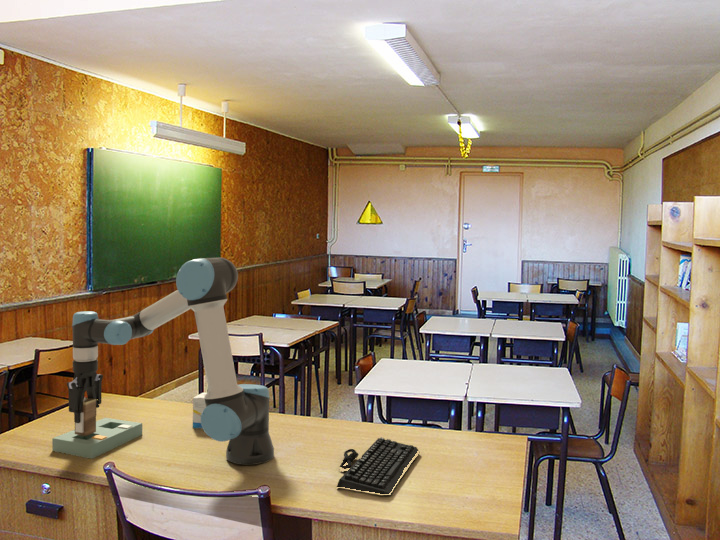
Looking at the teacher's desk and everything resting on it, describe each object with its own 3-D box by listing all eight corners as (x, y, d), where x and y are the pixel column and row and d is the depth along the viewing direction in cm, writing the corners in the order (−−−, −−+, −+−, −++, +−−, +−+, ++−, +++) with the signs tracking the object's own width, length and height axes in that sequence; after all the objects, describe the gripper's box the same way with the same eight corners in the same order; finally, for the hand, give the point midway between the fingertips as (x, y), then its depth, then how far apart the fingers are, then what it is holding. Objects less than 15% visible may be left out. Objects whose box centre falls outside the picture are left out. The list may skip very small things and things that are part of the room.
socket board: (142, 435, 220) (142, 422, 220) (92, 458, 198) (92, 443, 197) (105, 429, 226) (105, 416, 225) (52, 451, 203) (52, 437, 203)
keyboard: (389, 499, 175) (389, 482, 174) (316, 486, 182) (316, 471, 182) (420, 455, 209) (421, 441, 209) (358, 446, 216) (358, 432, 216)
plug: (96, 431, 207) (96, 399, 206) (85, 436, 203) (85, 402, 202) (85, 430, 209) (84, 397, 208) (74, 434, 204) (74, 400, 204)
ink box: (213, 430, 227) (213, 399, 226) (191, 429, 229) (192, 397, 228) (223, 423, 236) (223, 393, 235) (202, 421, 237) (202, 391, 237)
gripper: (95, 353, 214) (95, 420, 215) (55, 363, 197) (55, 436, 199) (113, 355, 211) (113, 423, 213) (73, 365, 195) (74, 439, 196)
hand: (85, 429), depth 206 cm, fingers closed on plug, 4 cm apart
